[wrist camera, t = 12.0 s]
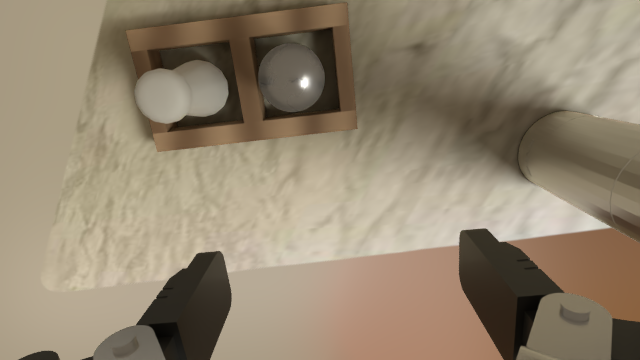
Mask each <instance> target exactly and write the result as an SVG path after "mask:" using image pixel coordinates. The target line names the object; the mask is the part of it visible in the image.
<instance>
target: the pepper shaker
mask: <svg viewBox="0 0 640 360" xmlns="http://www.w3.org/2000/svg"><path fill="white" fill-rule="evenodd" d="M258 81H259V86H260V89H261V92H262V94H263V96H264V97H265V98H266V100H267V101H268V102H269V103H270V104H271V105H273V106H274V107H276V108H277V109H279V110H282V111H286V112H298V111H302V110H305V109H307V108H309V107H310V106H312V105H313V104H314V103H315V102H316V101H317V100H318V98H319V97H320V95H321V93H322V91H323V88H324V82H325V74H324V69H323V66H322V64H321V62H320V60H319V58H318V57H317V56H316V54H315V53H314V52H313V51H311V50H310V49H309V48H307V47H305V46H303V45H300V44H296V43H286V44H281V45H279V46H276V47H275V48H273V49H272V50H270V51H269V52H268V53H267V54H266V56H265V57H264V58H263V60H262V62H261V64H260V68H259V73H258Z"/></svg>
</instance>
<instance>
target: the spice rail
mask: <svg viewBox="0 0 640 360" xmlns="http://www.w3.org/2000/svg"><path fill="white" fill-rule="evenodd" d="M330 29H332V38H333V48H334V59H335V69H336V79H337V89H338V100H339V109H331V110H322V111H314V112H305V113H297V114H288V115H280V116H271V117H266V111H265V104H264V98H263V94H262V92H261V89H260V86H259V81H258V73H259V67H258V61H257V55H256V49H255V43H254V39H258V38H266V37H274V36H282V35H290V34H298V33H306V32H314V31H322V30H330ZM125 31H126V35H127V39H128V43H129V46H130V50H131V54H132V58H133V61H134V65H135V69H136V73H137V77H138V80H139V79H140V77H141V76H142V75H143V74H144V73H146V72H148V71H151V70H155V69H159V68H162V69H163V65H162V61H161V56H160V52H159V51H162V50H170V49H178V48H186V47H194V46H202V45H210V44H218V43H226V42H229V43H230V48H231V53H232V59H233V64H234V70H235V75H236V81H237V86H238V92H239V97H240V103H241V108H242V114H243V119H244V120H237V121H229V122H220V123H212V124H203V125H195V126H186V127H177V123H176V122H172V123H169V124H165V123H160V122H155V121H152V120H151V119H149V122H150V126H151V129H152V133H153V137H154V141H155V145H156V148H157V152H161V151H170V150H179V149H187V148H196V147H205V146H213V145H222V144H231V143H239V142H248V141H256V140H265V139H274V138H282V137H291V136H300V135H308V134H317V133H326V132H334V131H343V130H352V129H358V128H357V116H356V104H355V92H354V80H353V68H352V56H351V44H350V32H349V20H348V8H347V2H346V3H338V4H330V5H322V6H314V7H306V8H299V9H291V10H283V11H275V12H267V13H259V14H251V15H243V16H236V17H228V18H220V19H212V20H204V21H196V22H188V23H180V24H172V25H165V26H157V27H149V28H141V29H133V30H125Z"/></svg>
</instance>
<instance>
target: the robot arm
mask: <svg viewBox="0 0 640 360" xmlns="http://www.w3.org/2000/svg"><path fill="white" fill-rule="evenodd" d="M518 162H519V166H520V169H521V171H522V173H523V174H524V176H525V177H526V178H527V179H528V180H529V181H531V182H533V183H534V184H536V185H538V186H540V187H541V188H543V189H545V190H547V191H548V192H550V193H552V194H553V195H555V196H557V197H559V198H560V199H562V200H564V201H566V202H568V203H569V204H571V205H573V206H575V207H576V208H578V209H580V210H582V211H584V212H585V213H587V214H589V215H591V216H593V217H594V218H596V219H598V220H600V221H601V222H603V223H605V224H607V225H609V226H610V227H612V228H614V229H616V230H618V231H619V232H621V233H623V234H625V235H627V236H628V237H630V238H632V239H634V240H636V241H637V242H639V243H640V125H639V124H634V123H629V122H623V121H618V120H613V119H608V118H603V117H599V116H593V115H588V114H583V113H578V112H572V111H560V112H555V113H552V114H549V115H547V116H545V117H543V118H541V119H540V120H538V121H537V122H536V123H534V124H533V125H532V126H531V127H530V129H529V130H528V131H527V132H526V134H525V135H524V137H523V139H522V141H521V144H520V146H519V152H518ZM459 247H460V248H459V276H460V282H461V286H462V289H463V291H464V293H465V295H466V296H467V298H468V300H469V301H470V303H471V305H472V306H473V308H474V310H475V312H476V313H477V315H478V317H479V318H480V320H481V322H482V323H483V325H484V327H485V329H486V330H487V332H488V334H489V335H490V337H491V339H492V340H493V342H494V344H495V346H496V347H497V349H498V351H499V352H500V354H501V356H502V357H503V359H504V360H640V322H635V321H627V320H619V319H613V318H612V317H611V315H610V314H609V312H608V311H607V310H606V309H605V308H603V307H602V306H601V305H599V304H598V303H596V302H594V301H592V300H590V299H588V298H585V297H582V296H579V295H574V294H569V293H564V292H563V291H562V290H561V289H560V288H559V287H558V286H557V285H556V284H555V283H554V282H553V281H552V280H551V279H550V278H549V277H548V276H547V275H546V274H545V273H544V272H543V271H542V270H541V269H538V266H537V265H535V263H534V262H533V261H530V258H529V257H528V256H527V255H526V254H525V253H523V252H522V251H521V250H520V249H519V248H517V247H514V246H513V245H510V244H508V243H507V242H499V241H498V240H497V239H496V238H495V237H494V236H493V235H492V234H491V233H490V232H489V231H488V230H487V229H485V228H484V229H473V230H462V231H461V233H460V242H459ZM156 298H157V299H155V300H154V301H153V302H152V304H151V305H150V306H149V308H148V309H147V310H146V312H145V313H144V315H143V316H142V317H141V319H140V320H139V321H138V323H137V324H136V326H131V327H127V328H125V329H122V330H120V331H118V332H116V333H114V334H112V335H111V336H109V337H108V338H107V339H105V340H104V341H103V342H102V343H101V344H100V345H99V346H98V347H97V349H96V350H95V352H94V355H93V356H92V357H89V358H86V359H82V360H210V358H211V355H212V353H213V350H214V348H215V345H216V343H217V340H218V338H219V335H220V333H221V330H222V328H223V325H224V323H225V320H226V318H227V315H228V313H229V310H230V307H231V288H230V284H229V279H228V275H227V270H226V265H225V261H224V257H223V254H222V253H221V252H220V251H216V252H205V253H198V254H197V255H196V256H195V257H194V259H193V260H192V262H191V263H190V265H189V266H188V268H186V269H182V270H180V271H179V272H178V273H176V274H175V275H174V276H172V277H171V278H170V279H169V280H168V282H167V283H166V285H165V286H164V287H163V290H162V291H160V293H159V294H158V295H157V297H156ZM19 360H60V359H59V356H58V354H57V353H56V352H53V351H41V352H37V353H33V354H30V355H28V356H25V357H23V358H21V359H19Z"/></svg>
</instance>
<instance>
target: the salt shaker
mask: <svg viewBox="0 0 640 360" xmlns="http://www.w3.org/2000/svg"><path fill="white" fill-rule="evenodd" d="M228 94H229V93H228V82H227V80H226V78H225V77H224V75H223V73H222V71H221V70H220V69H218V68H217V67H216V66H214V65H213V64H212V63H210V62H206V61H201V60H193V61H190V62H186V63H184V64H182V65H180V66H179V67H177V68H175V69H174V70H168V69H162V68H159V69H155V70H151V71H148V72H146V73H144V74H143V75H142V76H141V77H140V79H139V80H138V81H137V83H136V87H135V90H134V95H135V100H136V104H137V106H138V107H139V109H140V110H141V112H142V113H143V115H145V116H146V117H148V118H149V119H151V120H152V121H155V122H160V123H165V124H169V123H172V122H176V121H179V120H181V119H182V118H183V117H184V116H185V115H191V116H200V117H206V116H209V115H213V114H216V113H217V112H218V111H219V110H220V109H221V108H223V107H224V106H225V103H226V100H227V97H228Z"/></svg>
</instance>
